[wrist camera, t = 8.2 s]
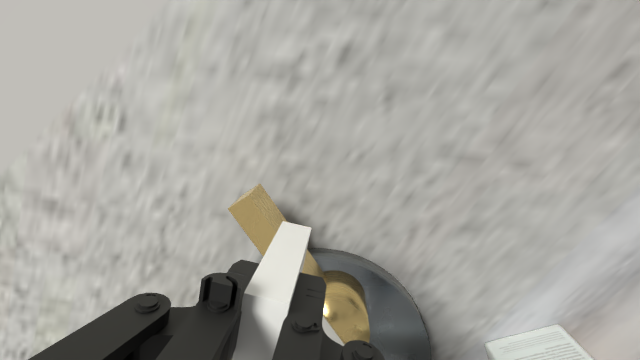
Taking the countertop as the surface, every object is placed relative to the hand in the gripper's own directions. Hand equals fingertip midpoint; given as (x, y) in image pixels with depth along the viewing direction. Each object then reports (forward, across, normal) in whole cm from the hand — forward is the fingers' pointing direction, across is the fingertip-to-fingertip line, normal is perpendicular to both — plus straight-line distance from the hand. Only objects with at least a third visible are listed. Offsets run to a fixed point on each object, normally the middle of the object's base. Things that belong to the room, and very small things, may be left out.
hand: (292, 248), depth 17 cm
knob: (+7, +1, -4) cm, 8 cm away
